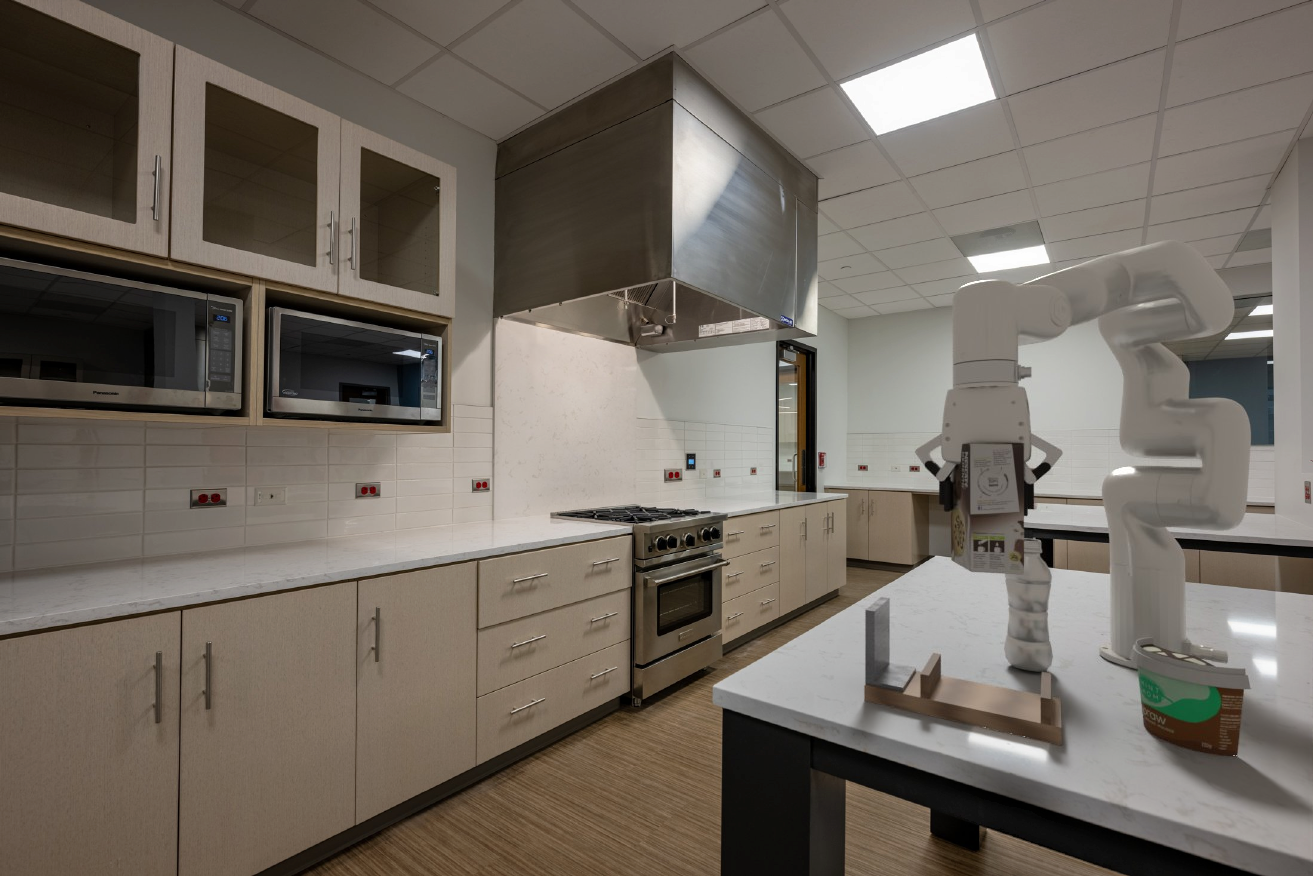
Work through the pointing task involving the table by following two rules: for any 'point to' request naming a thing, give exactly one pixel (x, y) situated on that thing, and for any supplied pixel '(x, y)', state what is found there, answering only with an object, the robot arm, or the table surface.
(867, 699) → the book rack
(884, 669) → the bookend
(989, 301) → the robot arm
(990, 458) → the coffee box
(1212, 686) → the food container
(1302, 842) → the table surface
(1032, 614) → the plastic bottle
